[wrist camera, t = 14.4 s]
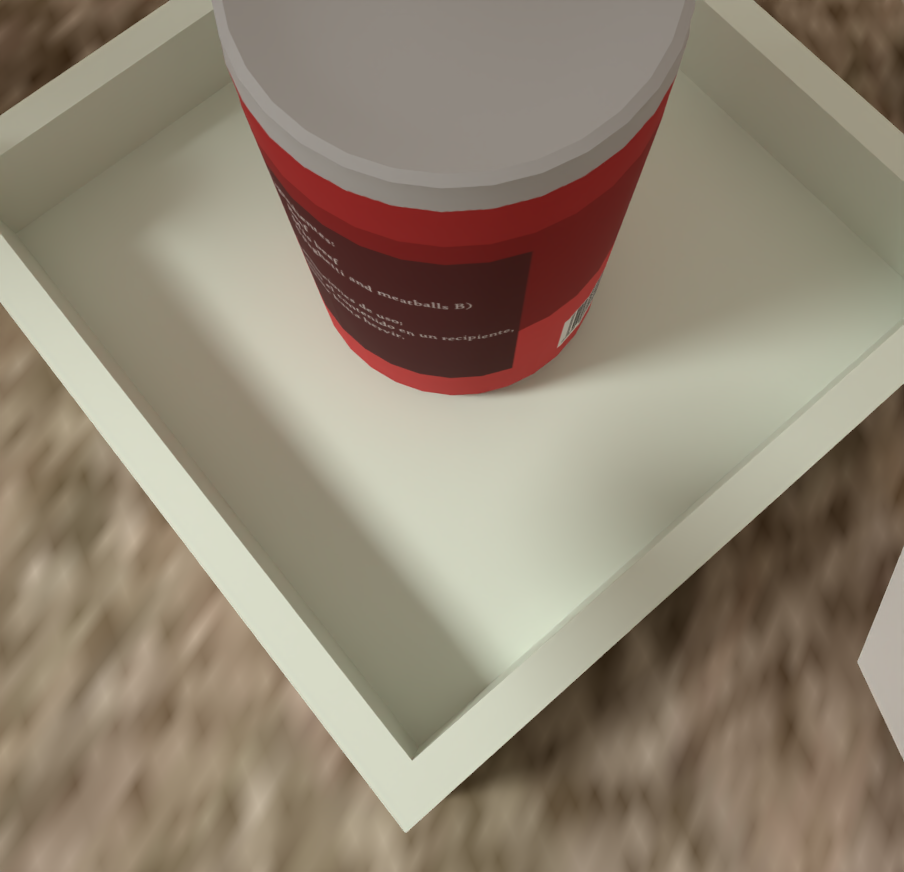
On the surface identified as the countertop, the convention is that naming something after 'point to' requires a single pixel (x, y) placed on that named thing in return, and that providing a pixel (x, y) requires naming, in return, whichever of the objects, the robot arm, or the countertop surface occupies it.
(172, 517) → the tray
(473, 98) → the canned food
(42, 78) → the countertop surface
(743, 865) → the countertop surface
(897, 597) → the robot arm
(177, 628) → the countertop surface
